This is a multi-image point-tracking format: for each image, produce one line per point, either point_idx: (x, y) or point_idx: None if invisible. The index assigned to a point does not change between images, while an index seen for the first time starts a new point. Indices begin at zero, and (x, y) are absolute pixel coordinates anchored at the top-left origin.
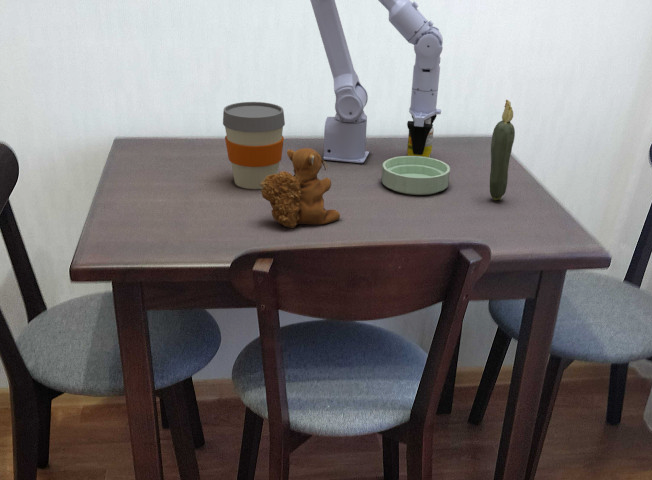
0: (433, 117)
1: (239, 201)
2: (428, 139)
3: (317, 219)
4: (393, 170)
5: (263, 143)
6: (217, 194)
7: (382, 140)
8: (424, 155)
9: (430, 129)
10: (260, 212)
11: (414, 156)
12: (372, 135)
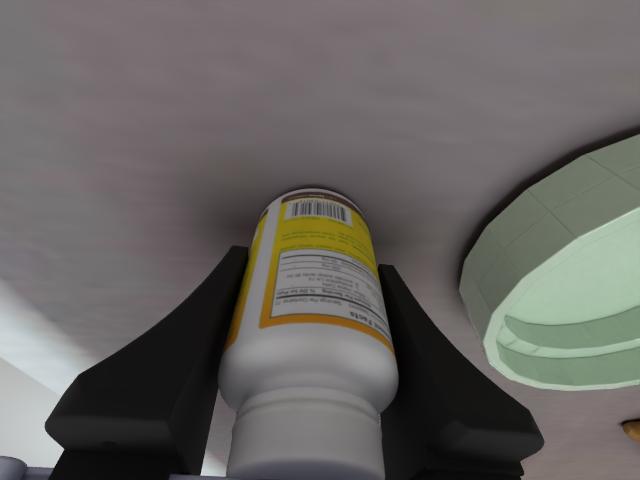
0: (177, 415)
1: (545, 461)
2: (380, 307)
3: None
4: (518, 334)
5: None
6: None
7: (78, 324)
8: (371, 247)
9: (528, 413)
10: (610, 448)
11: (501, 316)
12: (43, 344)
